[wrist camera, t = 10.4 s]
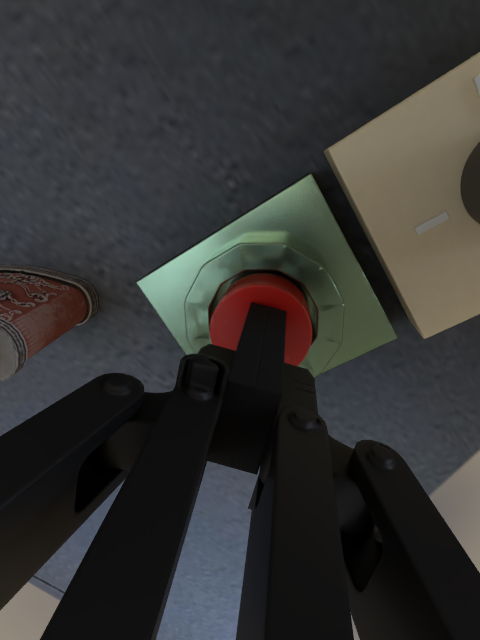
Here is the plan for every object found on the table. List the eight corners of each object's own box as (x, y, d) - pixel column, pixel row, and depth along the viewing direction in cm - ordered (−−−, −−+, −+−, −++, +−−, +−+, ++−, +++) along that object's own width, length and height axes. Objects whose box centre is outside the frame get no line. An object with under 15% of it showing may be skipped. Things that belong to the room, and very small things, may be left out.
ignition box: (309, 172, 20) (313, 173, 16) (388, 322, 22) (408, 353, 18) (149, 272, 22) (121, 292, 19) (233, 396, 25) (223, 436, 21)
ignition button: (280, 254, 18) (279, 265, 16) (327, 335, 19) (331, 353, 17) (200, 301, 19) (189, 315, 17) (247, 373, 20) (243, 395, 18)
